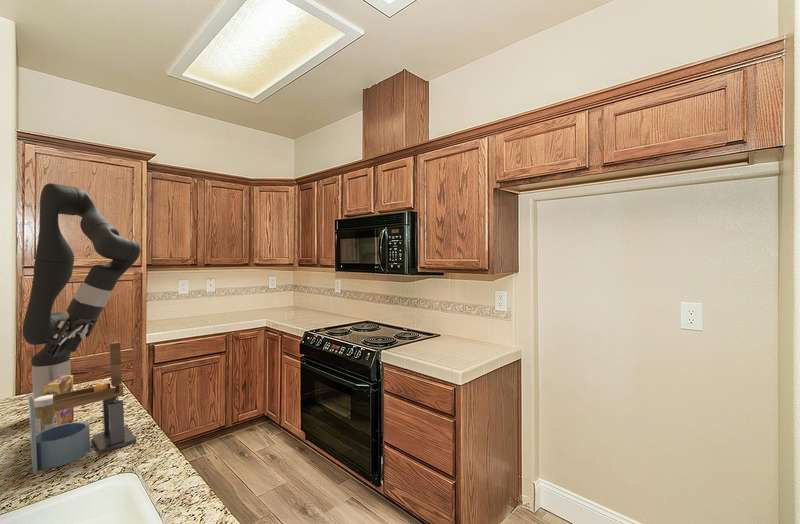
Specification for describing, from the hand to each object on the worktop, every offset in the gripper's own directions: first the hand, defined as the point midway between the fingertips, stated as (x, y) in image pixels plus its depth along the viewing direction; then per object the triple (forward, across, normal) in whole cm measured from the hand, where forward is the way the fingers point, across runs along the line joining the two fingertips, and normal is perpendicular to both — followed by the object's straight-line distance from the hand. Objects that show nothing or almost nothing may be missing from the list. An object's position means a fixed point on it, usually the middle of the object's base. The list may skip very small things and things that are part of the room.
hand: (60, 353), depth 105 cm
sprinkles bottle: (+24, 0, +9) cm, 25 cm away
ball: (+3, +4, +15) cm, 16 cm away
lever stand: (+16, +1, +24) cm, 29 cm away
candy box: (+24, -9, +6) cm, 27 cm away
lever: (+8, +5, +15) cm, 18 cm away
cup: (+20, +8, +16) cm, 27 cm away
